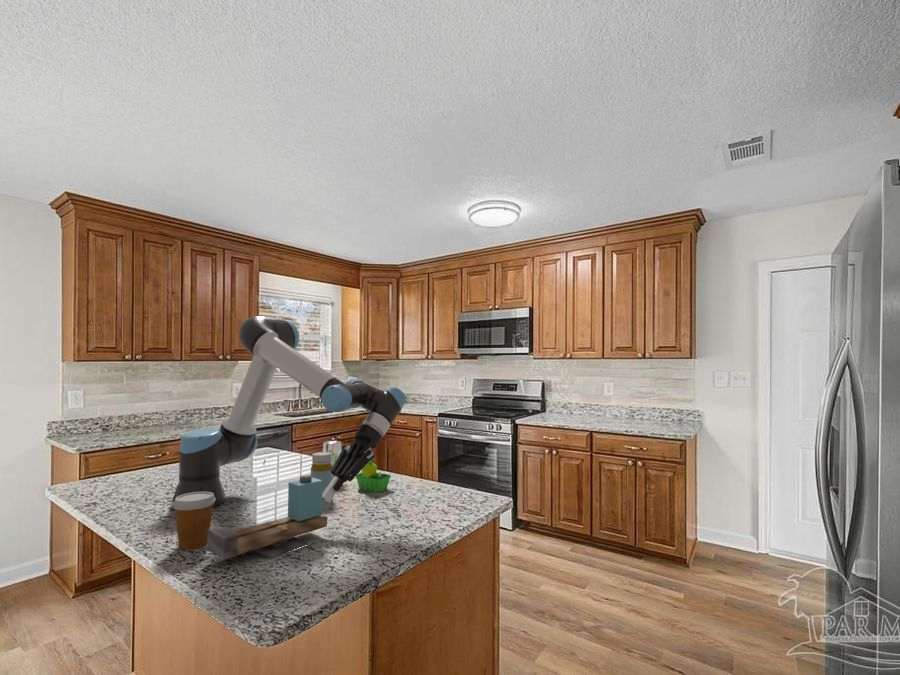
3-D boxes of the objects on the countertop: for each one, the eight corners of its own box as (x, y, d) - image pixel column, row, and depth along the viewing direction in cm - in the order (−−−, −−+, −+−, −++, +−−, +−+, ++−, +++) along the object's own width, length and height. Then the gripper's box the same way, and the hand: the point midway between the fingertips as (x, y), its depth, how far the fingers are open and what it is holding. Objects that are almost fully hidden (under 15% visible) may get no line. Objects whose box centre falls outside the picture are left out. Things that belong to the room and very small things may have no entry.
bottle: (334, 495, 161) (335, 451, 161) (327, 502, 154) (328, 455, 154) (315, 495, 161) (315, 451, 162) (306, 501, 154) (307, 455, 155)
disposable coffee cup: (182, 538, 122) (184, 491, 122) (220, 537, 123) (221, 490, 123) (163, 553, 112) (165, 502, 113) (204, 551, 113) (206, 501, 114)
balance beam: (305, 527, 130) (305, 501, 130) (331, 538, 122) (331, 510, 123) (203, 558, 109) (204, 528, 110) (227, 573, 101) (228, 540, 102)
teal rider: (310, 518, 127) (311, 472, 128) (321, 522, 124) (322, 475, 125) (287, 525, 122) (288, 477, 123) (298, 529, 119) (299, 480, 119)
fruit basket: (392, 489, 170) (392, 457, 170) (375, 494, 162) (376, 462, 163) (368, 484, 176) (368, 454, 176) (351, 490, 168) (352, 458, 169)
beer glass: (324, 484, 175) (325, 444, 176) (320, 480, 182) (321, 441, 182) (343, 482, 179) (343, 442, 179) (338, 478, 185) (339, 440, 186)
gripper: (393, 441, 139) (347, 512, 125) (364, 436, 147) (318, 502, 134) (380, 425, 135) (331, 496, 122) (351, 421, 144) (302, 487, 130)
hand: (324, 499), depth 128 cm, fingers closed
